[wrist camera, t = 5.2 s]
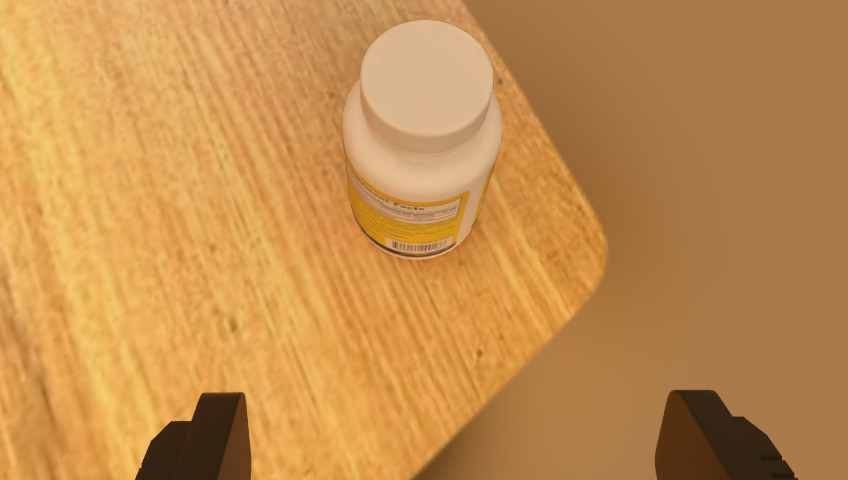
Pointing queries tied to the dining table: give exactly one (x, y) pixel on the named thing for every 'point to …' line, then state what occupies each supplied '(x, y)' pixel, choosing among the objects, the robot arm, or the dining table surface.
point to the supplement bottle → (421, 138)
